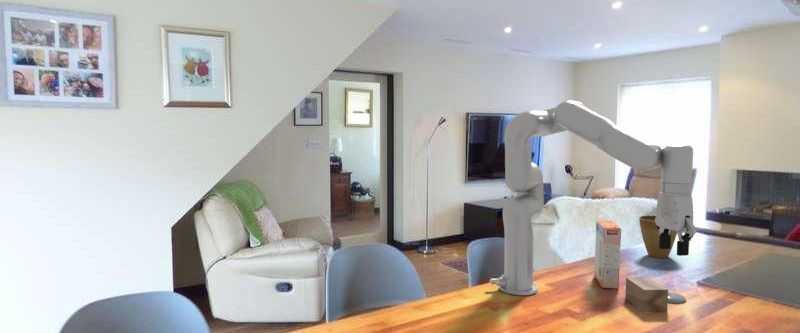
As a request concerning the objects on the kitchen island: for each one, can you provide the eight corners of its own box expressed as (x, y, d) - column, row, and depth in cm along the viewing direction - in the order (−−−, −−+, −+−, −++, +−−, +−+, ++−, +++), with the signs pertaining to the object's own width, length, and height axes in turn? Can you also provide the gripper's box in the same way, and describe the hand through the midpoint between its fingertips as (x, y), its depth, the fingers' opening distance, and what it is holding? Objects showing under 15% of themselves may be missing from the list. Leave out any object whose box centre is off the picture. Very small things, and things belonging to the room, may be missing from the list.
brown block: (643, 313, 150) (644, 289, 150) (625, 298, 162) (626, 277, 162) (667, 312, 150) (668, 289, 150) (647, 298, 162) (647, 277, 162)
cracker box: (620, 289, 171) (622, 228, 169) (601, 288, 172) (602, 227, 170) (611, 277, 184) (613, 220, 182) (593, 276, 185) (595, 219, 184)
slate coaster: (665, 304, 157) (666, 302, 157) (647, 294, 166) (647, 292, 166) (692, 302, 158) (692, 300, 158) (672, 292, 167) (672, 291, 167)
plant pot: (679, 254, 215) (680, 216, 213) (676, 262, 202) (678, 222, 201) (640, 249, 223) (641, 213, 221) (635, 257, 210) (636, 219, 209)
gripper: (644, 185, 150) (642, 245, 151) (685, 193, 133) (682, 260, 134) (667, 184, 151) (665, 244, 152) (711, 192, 134) (708, 259, 135)
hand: (673, 251), depth 143 cm, fingers open, 6 cm apart
